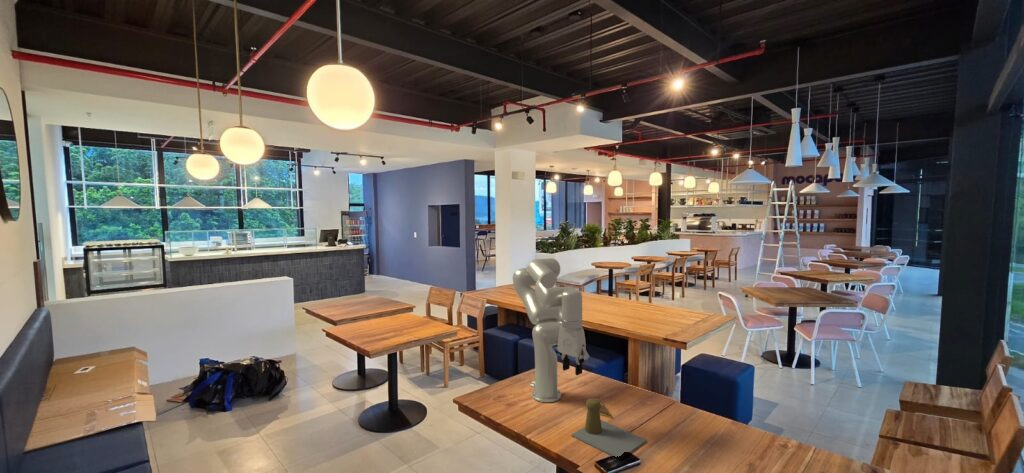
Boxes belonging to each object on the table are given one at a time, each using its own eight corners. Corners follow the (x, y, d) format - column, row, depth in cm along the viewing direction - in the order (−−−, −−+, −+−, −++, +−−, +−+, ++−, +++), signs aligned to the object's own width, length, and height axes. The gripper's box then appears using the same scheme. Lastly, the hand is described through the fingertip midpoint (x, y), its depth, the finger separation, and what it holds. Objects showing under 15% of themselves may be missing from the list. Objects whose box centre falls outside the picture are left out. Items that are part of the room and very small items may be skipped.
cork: (582, 426, 154) (582, 397, 153) (598, 425, 155) (598, 395, 154) (587, 435, 148) (587, 404, 147) (604, 433, 149) (604, 403, 148)
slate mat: (571, 436, 149) (571, 434, 149) (598, 420, 159) (598, 418, 159) (620, 460, 134) (620, 458, 134) (646, 441, 144) (646, 439, 144)
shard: (612, 419, 160) (612, 415, 160) (592, 421, 160) (592, 416, 160) (603, 406, 171) (603, 402, 171) (584, 408, 170) (584, 403, 170)
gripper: (548, 321, 160) (548, 368, 161) (584, 330, 147) (584, 381, 148) (561, 318, 165) (561, 363, 166) (597, 326, 152) (597, 375, 153)
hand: (572, 371), depth 157 cm, fingers open, 5 cm apart
